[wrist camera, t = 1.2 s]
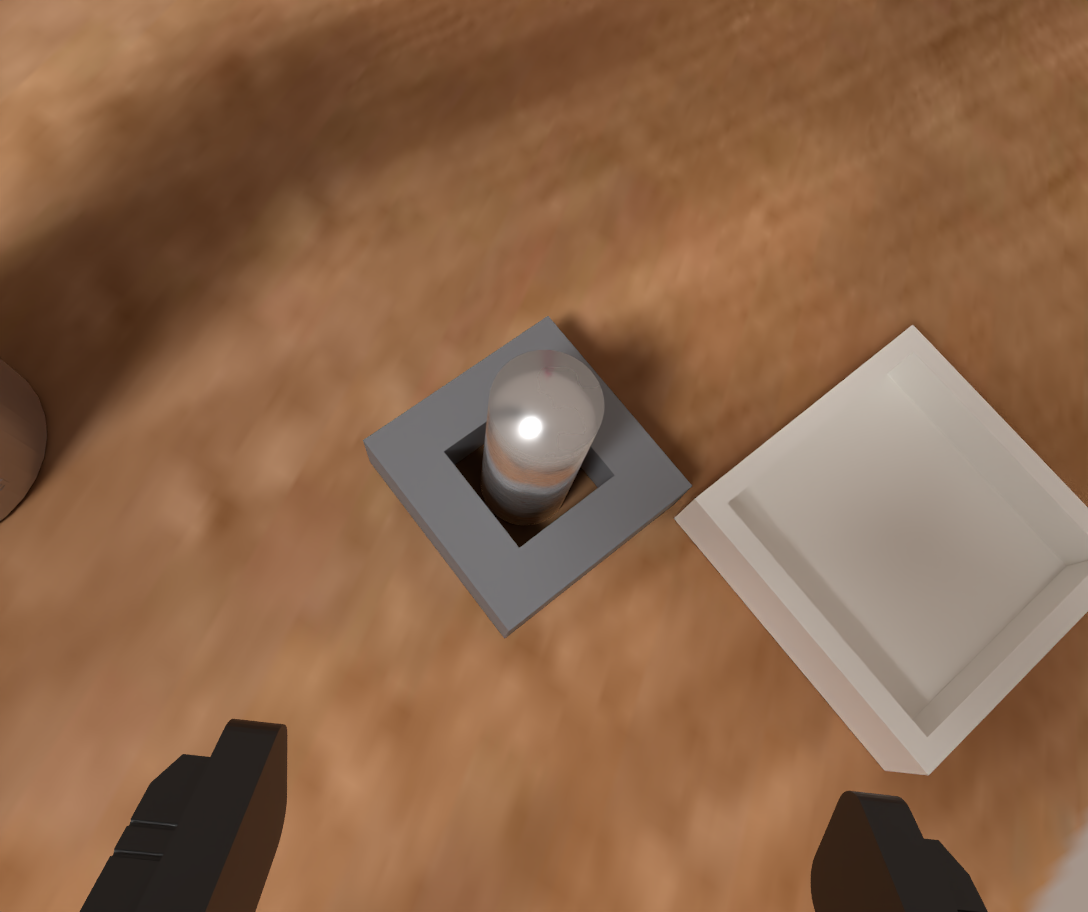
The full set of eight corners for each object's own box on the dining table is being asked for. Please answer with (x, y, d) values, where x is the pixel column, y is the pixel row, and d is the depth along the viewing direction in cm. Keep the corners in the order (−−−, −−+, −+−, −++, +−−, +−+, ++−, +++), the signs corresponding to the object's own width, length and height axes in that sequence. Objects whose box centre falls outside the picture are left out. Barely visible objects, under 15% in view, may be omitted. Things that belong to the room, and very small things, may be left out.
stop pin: (462, 474, 38) (465, 390, 28) (531, 426, 39) (556, 329, 29) (516, 542, 37) (537, 480, 27) (584, 491, 38) (627, 414, 28)
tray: (673, 518, 38) (694, 498, 35) (876, 356, 42) (912, 324, 38) (884, 770, 35) (928, 775, 32) (1080, 573, 39) (1137, 559, 36)
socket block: (369, 461, 37) (362, 440, 34) (541, 344, 40) (548, 315, 37) (504, 638, 36) (509, 631, 33) (674, 503, 38) (692, 485, 35)
